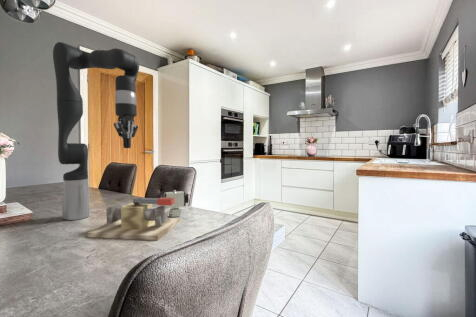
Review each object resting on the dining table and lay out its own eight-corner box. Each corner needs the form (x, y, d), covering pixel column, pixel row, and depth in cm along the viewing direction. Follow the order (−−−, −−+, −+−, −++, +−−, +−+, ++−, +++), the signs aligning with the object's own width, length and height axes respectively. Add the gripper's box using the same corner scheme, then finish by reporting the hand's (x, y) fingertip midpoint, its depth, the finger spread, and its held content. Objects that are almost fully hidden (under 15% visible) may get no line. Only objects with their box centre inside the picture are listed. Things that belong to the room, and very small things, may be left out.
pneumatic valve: (188, 216, 107) (188, 189, 107) (161, 219, 103) (161, 191, 102) (187, 213, 112) (186, 188, 112) (161, 215, 108) (160, 189, 108)
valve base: (87, 236, 83) (86, 208, 82) (122, 219, 102) (121, 196, 102) (158, 240, 79) (157, 210, 79) (180, 221, 99) (179, 198, 99)
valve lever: (131, 204, 88) (130, 198, 88) (135, 202, 91) (135, 196, 91) (171, 205, 86) (171, 199, 86) (174, 203, 89) (174, 197, 89)
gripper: (124, 100, 85) (126, 148, 86) (143, 106, 98) (144, 148, 99) (105, 100, 86) (107, 148, 87) (127, 107, 99) (128, 148, 100)
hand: (127, 148), depth 93 cm, fingers closed
